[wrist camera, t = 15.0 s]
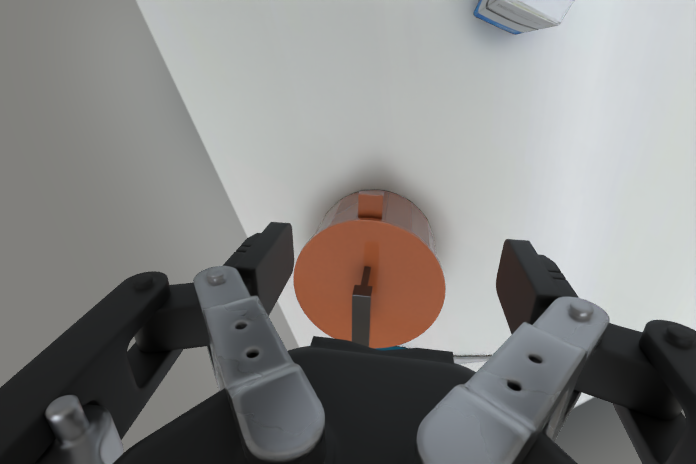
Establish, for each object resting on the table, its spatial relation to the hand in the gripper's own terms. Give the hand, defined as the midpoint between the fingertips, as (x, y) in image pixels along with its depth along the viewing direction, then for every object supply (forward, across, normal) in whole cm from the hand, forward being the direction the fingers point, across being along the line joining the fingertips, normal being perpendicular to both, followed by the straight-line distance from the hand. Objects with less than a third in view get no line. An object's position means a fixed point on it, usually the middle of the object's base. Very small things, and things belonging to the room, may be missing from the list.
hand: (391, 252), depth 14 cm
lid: (+20, +3, +15) cm, 25 cm away
